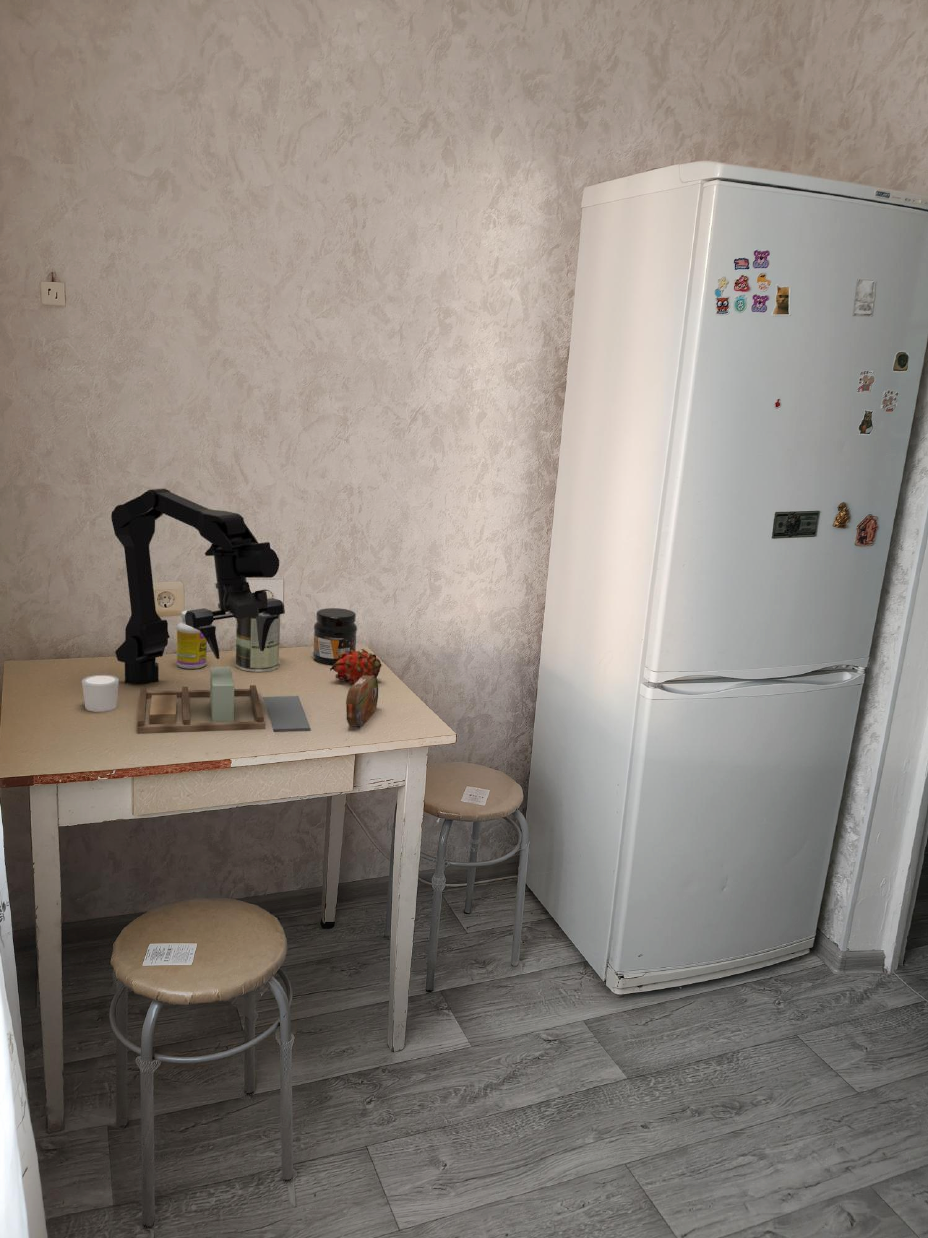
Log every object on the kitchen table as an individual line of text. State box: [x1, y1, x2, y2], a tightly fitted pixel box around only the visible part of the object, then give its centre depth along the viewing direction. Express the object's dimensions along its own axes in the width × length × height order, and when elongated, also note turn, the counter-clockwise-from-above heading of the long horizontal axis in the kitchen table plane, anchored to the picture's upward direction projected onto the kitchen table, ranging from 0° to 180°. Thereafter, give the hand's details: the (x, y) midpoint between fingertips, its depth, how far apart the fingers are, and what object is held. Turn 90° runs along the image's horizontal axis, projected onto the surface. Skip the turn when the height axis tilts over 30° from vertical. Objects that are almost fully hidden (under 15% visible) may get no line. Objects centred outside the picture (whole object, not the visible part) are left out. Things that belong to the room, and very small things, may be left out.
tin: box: [345, 675, 379, 727], centre depth 195 cm, size 15×3×8 cm, turn 168°
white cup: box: [81, 674, 120, 713], centre depth 188 cm, size 7×7×7 cm
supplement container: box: [312, 607, 358, 666], centre depth 233 cm, size 10×10×12 cm
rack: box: [137, 684, 266, 735], centre depth 189 cm, size 23×20×4 cm
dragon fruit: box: [329, 648, 383, 684], centre depth 218 cm, size 8×8×12 cm
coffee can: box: [234, 614, 281, 673], centre depth 223 cm, size 10×10×14 cm
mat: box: [262, 695, 311, 733], centre depth 195 cm, size 8×19×1 cm, turn 17°
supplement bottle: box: [176, 609, 208, 670], centre depth 220 cm, size 7×7×13 cm
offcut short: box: [149, 695, 178, 725], centre depth 187 cm, size 5×11×2 cm, turn 16°
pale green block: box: [209, 666, 235, 723], centre depth 190 cm, size 4×12×9 cm, turn 17°
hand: (240, 654), depth 190 cm, fingers open, 9 cm apart
